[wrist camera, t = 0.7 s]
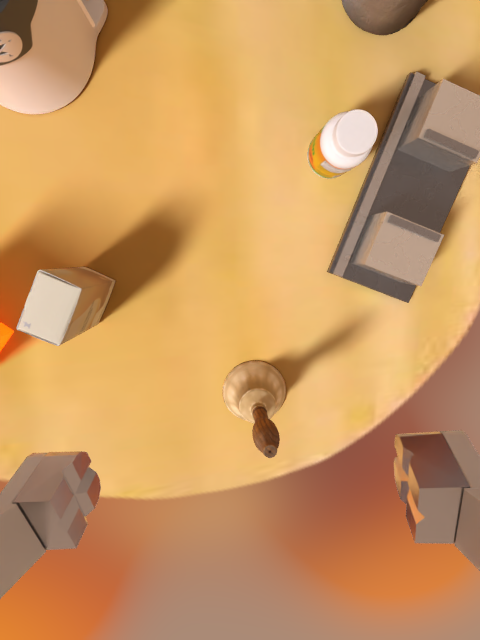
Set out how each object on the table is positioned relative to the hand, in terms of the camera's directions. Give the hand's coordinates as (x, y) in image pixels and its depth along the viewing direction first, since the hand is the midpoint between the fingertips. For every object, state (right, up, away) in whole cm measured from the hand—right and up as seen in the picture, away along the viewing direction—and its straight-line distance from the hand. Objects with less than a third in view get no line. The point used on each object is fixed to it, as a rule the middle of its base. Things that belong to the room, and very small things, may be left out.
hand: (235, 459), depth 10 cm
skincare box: (-18, +7, +38) cm, 42 cm away
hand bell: (+2, -6, +41) cm, 41 cm away
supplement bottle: (+11, +23, +36) cm, 44 cm away
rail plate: (+20, +19, +37) cm, 46 cm away
